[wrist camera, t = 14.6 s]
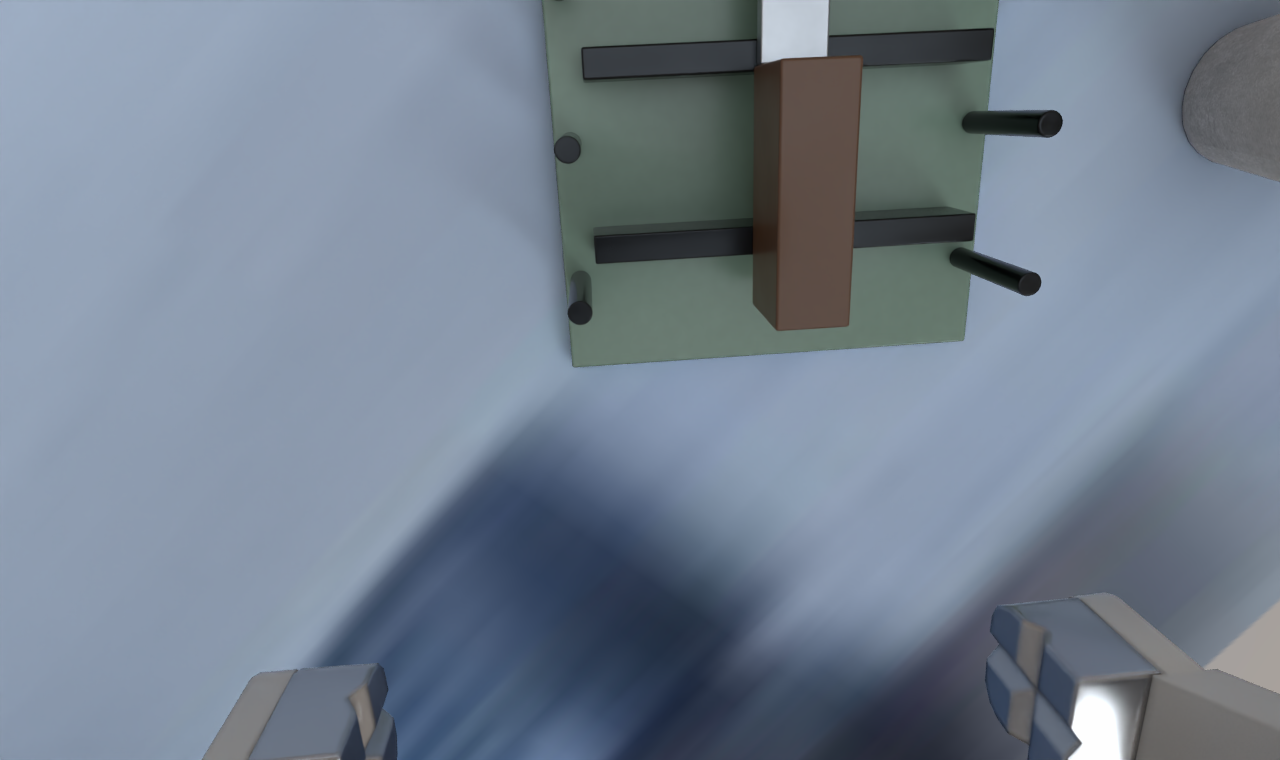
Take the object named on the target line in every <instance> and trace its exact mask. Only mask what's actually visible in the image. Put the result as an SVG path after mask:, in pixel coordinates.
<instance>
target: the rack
mask: <svg viewBox="0 0 1280 760" xmlns="http://www.w3.org/2000/svg"><path fill="white" fill-rule="evenodd" d="M998 4H999V0H830V17H829V44H828V56H847V55H861V56H863V70H862V89H861V108H860V128H859V147H858V166H857V185H856V205H855V224H854V243H853V262H852V281H851V301H850V320H849V326H847V327H837V328H821V329H805V330H789V331H776V330H775V329H774V328H773V326H772V325H771V324H770V323H769V322H768V321H767V320H766V319H765V317H764V316H763V315H762V314H761V313H760V312H759V311H758V309H757V308H756V307H755V306H754V305H753V164H754V68H755V66H758V64H757V7H758V0H542V8H543V20H544V32H545V44H546V56H547V68H548V80H549V92H550V104H551V116H552V128H553V139H554V153H555V163H556V175H557V187H558V199H559V211H560V223H561V235H562V247H563V259H564V271H565V283H566V295H567V307H568V319H569V331H570V343H571V355H572V365H573V367H588V366H602V365H617V364H632V363H646V362H661V361H676V360H691V359H705V358H720V357H735V356H749V355H764V354H779V353H794V352H808V351H823V350H838V349H852V348H867V347H882V346H897V345H911V344H926V343H941V342H955V341H963V340H964V336H965V326H966V317H967V307H968V297H969V287H970V278H971V274H973V275H975V276H978V277H980V278H983V279H985V280H987V281H990V282H992V283H995V284H997V285H1000V286H1002V287H1004V288H1007V289H1009V290H1012V291H1014V292H1016V293H1019V294H1021V295H1024V296H1030V295H1033V294H1035V293H1036V292H1037V291H1038V290H1039V288H1040V286H1041V278H1040V276H1039V275H1038V274H1037V273H1035V272H1032V271H1029V270H1026V269H1023V268H1020V267H1018V266H1015V265H1012V264H1009V263H1006V262H1003V261H1001V260H998V259H995V258H992V257H989V256H986V255H984V254H981V253H978V252H975V251H973V248H974V238H975V229H976V219H977V209H978V199H979V190H980V180H981V170H982V160H983V151H984V141H985V134H986V135H1005V136H1025V137H1044V138H1049V137H1052V136H1054V135H1056V134H1057V133H1058V132H1059V131H1060V129H1061V127H1062V123H1063V120H1062V116H1061V115H1060V114H1059V113H1058V112H1057V111H1055V110H1010V111H988V102H989V92H990V82H991V72H992V63H993V53H994V43H995V33H996V23H997V14H998Z"/></svg>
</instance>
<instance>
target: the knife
mask: <svg viewBox="0 0 1280 760" xmlns="http://www.w3.org/2000/svg"><path fill="white" fill-rule="evenodd" d="M829 17H830V0H758V7H757V64H758V66H755V68H754V164H753V305H754V306H755V307H756V308H757V309H758V311H759V312H760V313H761V314H762V315H763V316H764V317H765V319H766V320H767V321H768V322H769V323H770V324H771V325H772V326H773V328H774V329H775V330H776V331H789V330H805V329H821V328H837V327H847V326H849V320H850V301H851V281H852V262H853V243H854V224H855V205H856V185H857V166H858V147H859V128H860V108H861V89H862V70H863V56H861V55H847V56H828V44H829Z"/></svg>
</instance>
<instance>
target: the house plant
mask: <svg viewBox="0 0 1280 760" xmlns="http://www.w3.org/2000/svg"><path fill="white" fill-rule="evenodd" d="M1182 113H1183V126H1184V129H1185V132H1186V135H1187V137H1188V140H1189V142H1190V143H1191V145H1192V146H1193V147H1194V148H1195V150H1196V151H1197V152H1198V153H1199V154H1200V155H1202V156H1203V157H1205V158H1207V159H1208V160H1210V161H1212V162H1215V163H1219V164H1222V165H1225V166H1229V167H1232V168H1235V169H1238V170H1242V171H1245V172H1248V173H1252V174H1255V175H1258V176H1262V177H1265V178H1268V179H1271V180H1275V181H1278V182H1280V14H1278V15H1275V16H1272V17H1269V18H1266V19H1263V20H1260V21H1257V22H1254V23H1251V24H1248V25H1245V26H1242V27H1239V28H1236V29H1235V30H1233V31H1232V32H1230V33H1228V34H1227V35H1225V36H1224V37H1222V38H1221V39H1219V40H1218V41H1217V42H1216V43H1215V44H1214V45H1213V46H1212V47H1211V48H1210V49H1209V50H1208V51H1207V52H1206V53H1205V54H1204V56H1203V57H1202V59H1201V60H1200V62H1199V63H1198V65H1197V66H1196V68H1195V69H1194V71H1193V73H1192V75H1191V78H1190V80H1189V82H1188V85H1187V87H1186V90H1185V95H1184V101H1183V107H1182Z"/></svg>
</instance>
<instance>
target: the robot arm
mask: <svg viewBox="0 0 1280 760" xmlns="http://www.w3.org/2000/svg"><path fill="white" fill-rule="evenodd" d="M990 632H991V634H992V635H993V636H994V638H995V639H996V640H997V642H998V643H999V645H998V646H997V648H996V649H995V650H994V651H993V652H992V654H991V655H990V656H989V657H988V658H987V662H986V675H985V682H986V687H987V692H988V696H989V701H990V704H991V706H992V708H993V710H994V712H995V715H996V717H997V719H998V720H999V721H1000V723H1001V724H1002V726H1003V727H1004V729H1005V730H1006V731H1007V733H1008V734H1010V735H1012V736H1014V737H1015V738H1017V739H1019V740H1021V741H1022V742H1024V743H1026V744H1028V745H1029V751H1028V760H1280V694H1278V693H1276V692H1273V691H1271V690H1268V689H1265V688H1263V687H1260V686H1258V685H1255V684H1253V683H1250V682H1248V681H1245V680H1243V679H1240V678H1238V677H1235V676H1233V675H1230V674H1228V673H1225V672H1223V671H1220V670H1218V669H1213V670H1204V669H1203V668H1202V667H1201V666H1200V665H1198V664H1197V663H1196V662H1195V661H1194V660H1192V659H1191V658H1190V657H1189V656H1188V655H1187V654H1185V653H1184V652H1183V651H1182V650H1181V649H1179V648H1178V647H1177V646H1176V645H1175V644H1173V643H1172V642H1171V641H1170V640H1169V639H1167V638H1166V637H1165V636H1164V635H1163V634H1162V633H1160V632H1159V631H1158V630H1157V629H1156V628H1154V627H1153V626H1152V625H1151V624H1150V623H1148V622H1147V621H1146V620H1145V619H1144V618H1143V617H1141V616H1140V615H1139V614H1138V613H1137V612H1135V611H1134V610H1133V609H1132V608H1131V607H1129V606H1128V605H1127V604H1126V603H1125V602H1123V601H1122V600H1121V599H1120V598H1119V597H1117V596H1114V595H1112V594H1109V593H1098V594H1089V595H1081V596H1073V597H1069V598H1068V599H1057V600H1047V601H1037V602H1027V603H1017V604H1007V605H998V606H997V607H996V609H995V611H994V613H993V615H992V620H991V627H990ZM387 692H388V686H387V681H386V677H385V672H384V668H383V667H382V666H381V665H379V664H378V663H373V664H359V665H345V666H332V667H318V668H304V669H300V670H296V669H294V670H282V671H271V672H260V673H259V674H257V675H255V676H254V677H252V678H251V679H250V680H249V682H248V684H247V685H246V687H245V689H244V690H243V692H242V694H241V695H240V697H239V699H238V700H237V702H236V704H235V705H234V707H233V709H232V710H231V712H230V714H229V715H228V717H227V719H226V720H225V722H224V724H223V725H222V727H221V728H220V730H219V732H218V733H217V735H216V737H215V738H214V740H213V742H212V743H211V745H210V747H209V748H208V750H207V752H206V753H205V755H204V757H203V758H202V760H397V734H396V728H395V722H394V718H393V717H392V716H391V715H390V714H389V713H387V712H386V711H385V710H384V709H383V705H384V701H385V698H386V695H387Z"/></svg>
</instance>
